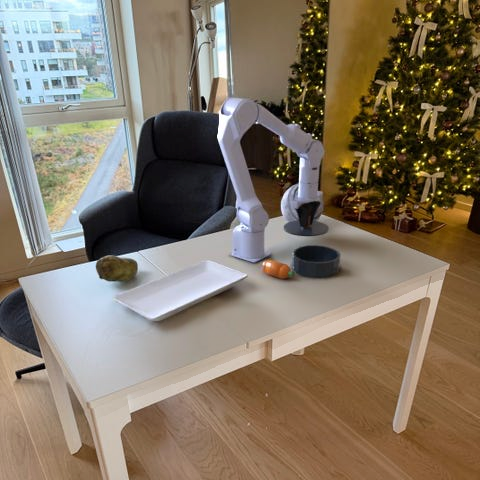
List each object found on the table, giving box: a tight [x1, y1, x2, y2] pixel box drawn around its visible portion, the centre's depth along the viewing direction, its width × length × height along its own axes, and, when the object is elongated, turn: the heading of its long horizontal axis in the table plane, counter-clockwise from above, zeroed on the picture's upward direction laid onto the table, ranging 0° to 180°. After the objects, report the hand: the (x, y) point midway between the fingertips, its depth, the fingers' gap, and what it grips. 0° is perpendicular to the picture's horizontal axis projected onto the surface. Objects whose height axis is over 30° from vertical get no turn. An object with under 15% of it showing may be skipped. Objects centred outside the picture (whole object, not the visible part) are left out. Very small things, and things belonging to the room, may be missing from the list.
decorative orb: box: [280, 183, 325, 223], centre depth 157 cm, size 15×14×15 cm
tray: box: [113, 259, 249, 322], centre depth 113 cm, size 17×32×4 cm, turn 136°
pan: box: [291, 244, 342, 279], centre depth 127 cm, size 13×13×4 cm
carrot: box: [261, 259, 295, 280], centre depth 123 cm, size 10×4×4 cm, turn 50°
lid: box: [282, 216, 330, 237], centre depth 140 cm, size 14×14×5 cm
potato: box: [95, 254, 139, 283], centre depth 121 cm, size 8×13×8 cm, turn 131°
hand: (305, 225), depth 140 cm, fingers closed on lid, 2 cm apart
